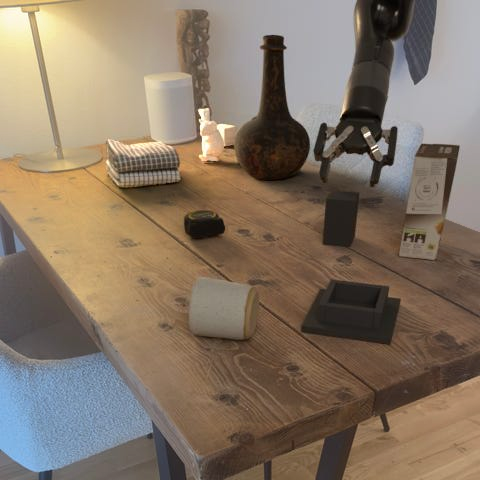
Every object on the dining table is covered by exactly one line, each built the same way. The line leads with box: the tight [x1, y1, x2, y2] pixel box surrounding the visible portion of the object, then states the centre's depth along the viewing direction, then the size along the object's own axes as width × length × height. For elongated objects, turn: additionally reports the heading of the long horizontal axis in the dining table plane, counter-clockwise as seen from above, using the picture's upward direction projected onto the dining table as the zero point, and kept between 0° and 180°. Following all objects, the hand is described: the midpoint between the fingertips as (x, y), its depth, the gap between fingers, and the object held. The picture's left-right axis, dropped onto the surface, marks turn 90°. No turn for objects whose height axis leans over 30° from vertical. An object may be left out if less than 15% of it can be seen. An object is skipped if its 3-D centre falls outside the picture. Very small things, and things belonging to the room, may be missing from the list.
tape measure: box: [183, 209, 226, 239], centre depth 105 cm, size 7×7×4 cm
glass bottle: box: [233, 34, 311, 181], centre depth 128 cm, size 18×18×28 cm
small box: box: [217, 123, 238, 146], centre depth 160 cm, size 6×6×5 cm
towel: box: [105, 138, 181, 189], centre depth 134 cm, size 15×18×8 cm
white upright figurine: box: [197, 107, 225, 162], centre depth 144 cm, size 8×7×12 cm
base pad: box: [300, 278, 402, 346], centre depth 79 cm, size 12×12×4 cm
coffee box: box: [398, 143, 461, 261], centre depth 94 cm, size 9×6×16 cm
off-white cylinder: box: [188, 276, 260, 341], centre depth 76 cm, size 11×8×8 cm
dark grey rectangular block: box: [322, 189, 361, 248], centre depth 100 cm, size 5×5×8 cm
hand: (347, 183), depth 100 cm, fingers open, 8 cm apart
